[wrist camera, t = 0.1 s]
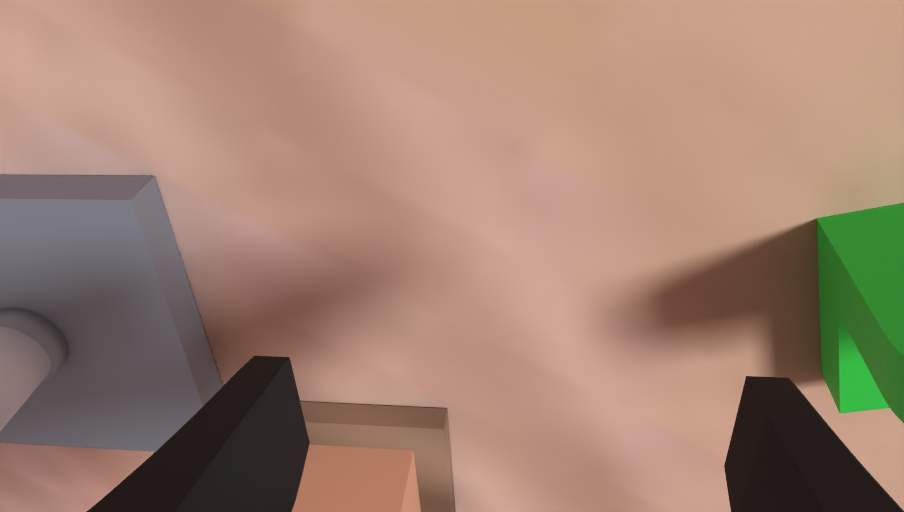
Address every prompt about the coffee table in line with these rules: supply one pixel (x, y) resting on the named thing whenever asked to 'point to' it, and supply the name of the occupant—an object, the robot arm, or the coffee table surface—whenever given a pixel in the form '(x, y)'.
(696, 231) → the coffee table surface
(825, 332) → the mechanical part
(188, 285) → the square peg base
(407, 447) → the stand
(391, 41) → the coffee table surface
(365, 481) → the collar
